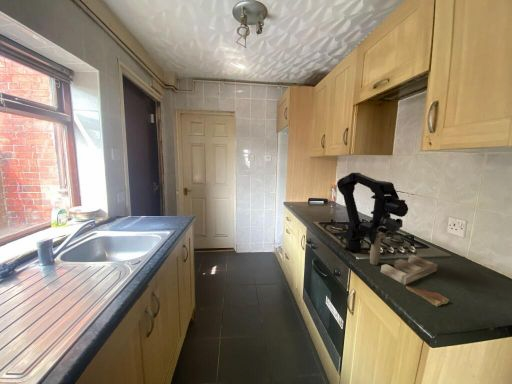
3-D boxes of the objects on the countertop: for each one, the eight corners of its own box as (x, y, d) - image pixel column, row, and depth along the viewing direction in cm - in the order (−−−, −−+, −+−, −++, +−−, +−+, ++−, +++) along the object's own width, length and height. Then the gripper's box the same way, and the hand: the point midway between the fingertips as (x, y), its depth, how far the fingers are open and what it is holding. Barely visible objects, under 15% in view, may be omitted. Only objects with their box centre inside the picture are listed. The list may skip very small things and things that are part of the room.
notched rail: (380, 272, 93) (381, 265, 92) (411, 260, 103) (412, 254, 103) (405, 284, 84) (406, 277, 83) (436, 270, 95) (437, 264, 94)
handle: (381, 267, 96) (386, 236, 93) (365, 263, 99) (369, 233, 96) (381, 263, 100) (385, 232, 97) (366, 259, 103) (369, 230, 101)
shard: (404, 288, 82) (405, 284, 82) (418, 285, 85) (418, 281, 84) (435, 308, 72) (436, 303, 72) (450, 303, 75) (451, 299, 74)
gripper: (385, 217, 84) (380, 254, 87) (412, 212, 92) (406, 246, 95) (360, 210, 93) (356, 244, 96) (386, 206, 102) (382, 237, 105)
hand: (376, 243), depth 98 cm, fingers closed on handle, 5 cm apart
